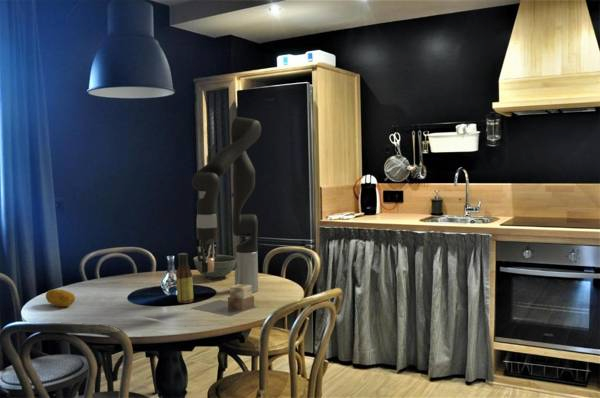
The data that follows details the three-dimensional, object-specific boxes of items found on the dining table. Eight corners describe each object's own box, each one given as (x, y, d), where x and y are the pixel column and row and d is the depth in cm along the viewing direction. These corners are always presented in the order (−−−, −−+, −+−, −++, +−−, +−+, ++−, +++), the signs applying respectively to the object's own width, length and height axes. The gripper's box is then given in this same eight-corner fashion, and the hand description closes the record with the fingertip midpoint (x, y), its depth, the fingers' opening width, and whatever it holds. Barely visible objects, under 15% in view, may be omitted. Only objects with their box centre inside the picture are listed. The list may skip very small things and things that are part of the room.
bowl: (195, 274, 286) (194, 254, 286) (237, 273, 288) (237, 253, 288) (192, 283, 266) (191, 261, 265) (237, 281, 268) (237, 260, 267)
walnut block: (228, 307, 217) (227, 297, 217) (240, 303, 223) (240, 293, 222) (242, 310, 213) (241, 299, 213) (254, 306, 219) (254, 295, 218)
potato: (61, 310, 218) (60, 293, 218) (42, 305, 226) (41, 288, 226) (79, 306, 224) (79, 289, 224) (60, 301, 233) (59, 285, 232)
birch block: (230, 297, 216) (229, 287, 216) (238, 294, 222) (238, 284, 221) (243, 299, 214) (243, 288, 213) (251, 295, 219) (251, 285, 219)
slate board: (190, 310, 217) (190, 308, 217) (219, 301, 230) (219, 299, 230) (229, 318, 205) (229, 316, 205) (258, 308, 218) (258, 306, 218)
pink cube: (198, 271, 215) (198, 258, 214) (207, 269, 219) (207, 256, 218) (207, 273, 212) (207, 259, 212) (216, 271, 216) (216, 257, 216)
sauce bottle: (196, 301, 230) (195, 252, 229) (188, 305, 224) (187, 255, 223) (182, 300, 232) (180, 252, 231) (173, 304, 226) (172, 254, 225)
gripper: (208, 228, 206) (209, 275, 207) (223, 224, 220) (224, 268, 221) (189, 228, 208) (190, 274, 209) (205, 223, 222) (206, 267, 223)
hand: (207, 270), depth 215 cm, fingers closed on pink cube, 4 cm apart
